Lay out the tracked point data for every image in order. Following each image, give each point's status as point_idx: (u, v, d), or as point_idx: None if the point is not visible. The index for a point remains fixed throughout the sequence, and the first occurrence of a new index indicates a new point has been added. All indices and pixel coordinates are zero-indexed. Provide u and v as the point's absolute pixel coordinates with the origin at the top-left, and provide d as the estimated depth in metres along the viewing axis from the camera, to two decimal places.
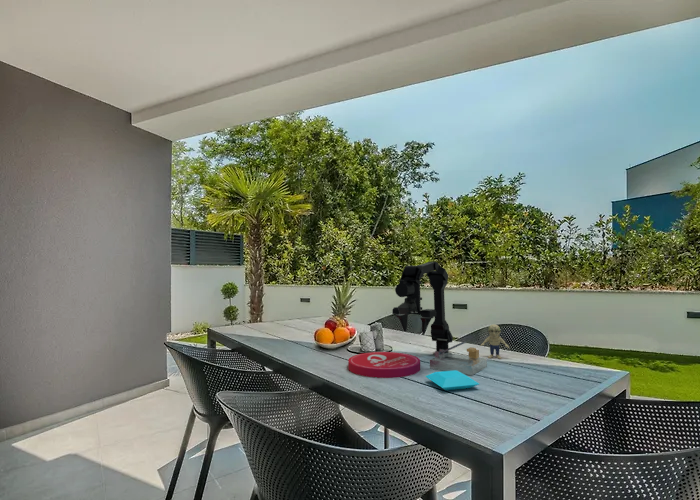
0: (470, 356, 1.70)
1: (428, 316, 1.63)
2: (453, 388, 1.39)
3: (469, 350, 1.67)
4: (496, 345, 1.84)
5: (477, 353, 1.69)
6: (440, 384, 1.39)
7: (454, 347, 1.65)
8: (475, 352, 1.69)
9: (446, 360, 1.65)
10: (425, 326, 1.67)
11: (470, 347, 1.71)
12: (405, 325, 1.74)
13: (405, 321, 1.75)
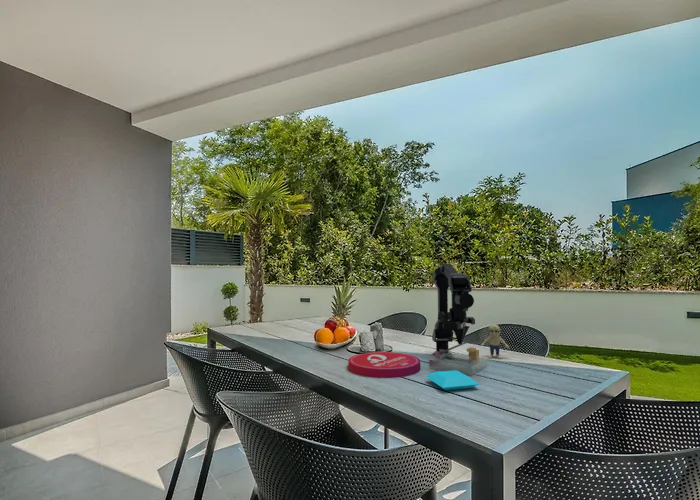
0: (470, 356, 1.70)
1: (443, 327, 1.60)
2: (453, 388, 1.39)
3: (469, 350, 1.67)
4: (496, 345, 1.84)
5: (477, 353, 1.69)
6: (440, 384, 1.39)
7: (454, 347, 1.65)
8: (475, 352, 1.69)
9: (446, 360, 1.65)
10: (458, 336, 1.65)
11: (470, 347, 1.71)
12: None
13: None
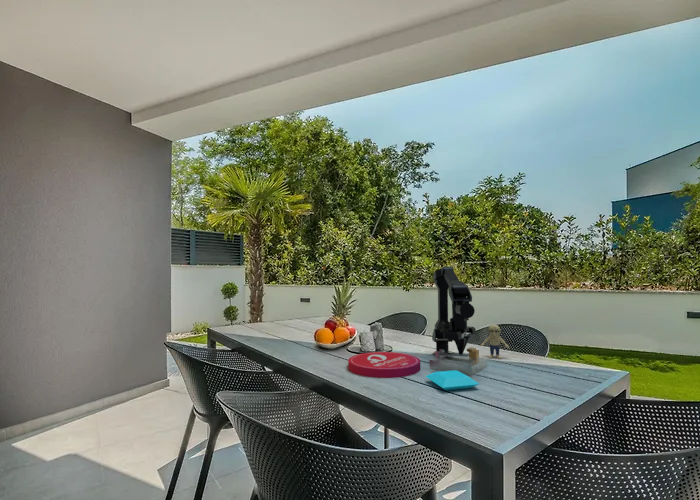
0: (470, 356, 1.70)
1: (444, 337, 1.60)
2: (453, 388, 1.39)
3: (469, 350, 1.67)
4: (496, 345, 1.84)
5: (477, 353, 1.69)
6: (440, 384, 1.39)
7: (456, 355, 1.65)
8: (475, 352, 1.69)
9: (446, 360, 1.65)
10: (459, 346, 1.64)
11: (470, 347, 1.71)
12: None
13: None
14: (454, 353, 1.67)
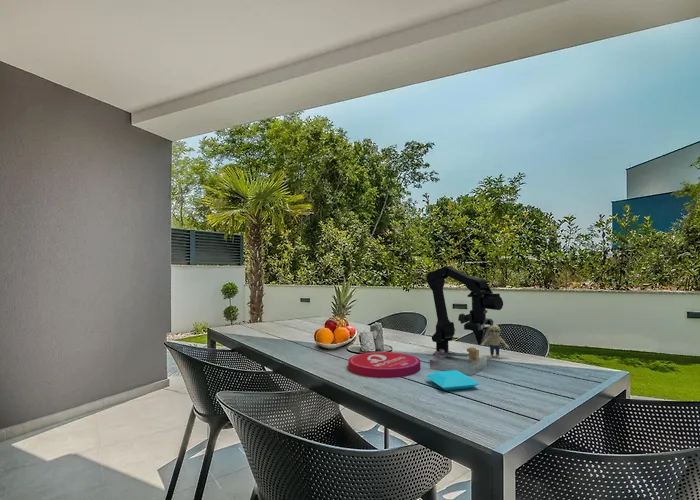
0: (470, 356, 1.70)
1: (464, 328, 1.71)
2: (453, 388, 1.39)
3: (469, 350, 1.67)
4: (496, 345, 1.84)
5: (477, 353, 1.69)
6: (440, 384, 1.39)
7: (456, 355, 1.65)
8: (475, 352, 1.69)
9: (446, 360, 1.65)
10: (477, 337, 1.75)
11: (470, 347, 1.71)
12: None
13: None
14: (454, 353, 1.67)
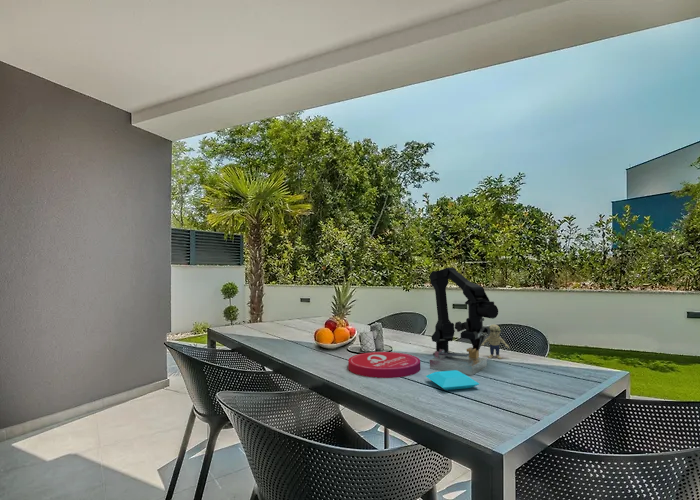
0: (470, 356, 1.70)
1: None
2: (453, 388, 1.39)
3: (469, 350, 1.67)
4: (496, 345, 1.84)
5: (477, 353, 1.69)
6: (440, 384, 1.39)
7: (456, 355, 1.65)
8: (475, 352, 1.68)
9: (446, 360, 1.65)
10: (474, 345, 1.71)
11: (470, 347, 1.70)
12: None
13: None
14: (454, 353, 1.67)
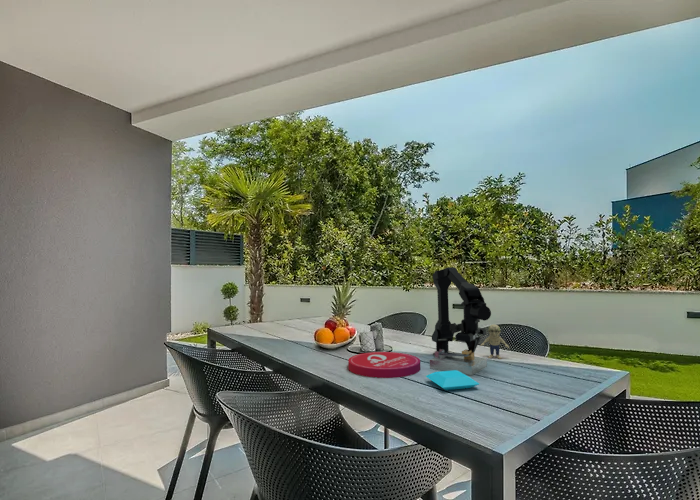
0: (465, 358, 1.66)
1: (455, 338, 1.63)
2: (453, 388, 1.39)
3: (464, 352, 1.63)
4: (496, 345, 1.84)
5: (472, 355, 1.65)
6: (440, 384, 1.39)
7: (456, 355, 1.65)
8: (470, 354, 1.65)
9: (446, 360, 1.65)
10: (470, 347, 1.68)
11: None
12: None
13: None
14: (454, 353, 1.67)
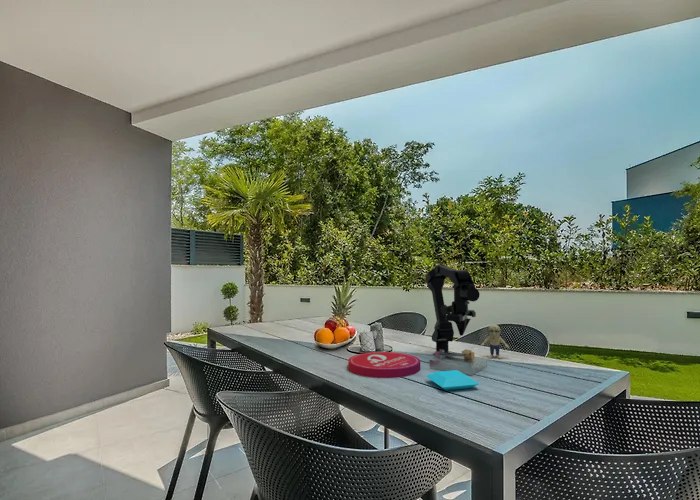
0: (465, 358, 1.66)
1: (446, 319, 1.70)
2: (453, 388, 1.39)
3: (464, 352, 1.63)
4: (496, 345, 1.84)
5: (472, 355, 1.65)
6: (440, 384, 1.39)
7: (456, 355, 1.65)
8: (470, 354, 1.65)
9: (446, 360, 1.65)
10: (459, 328, 1.75)
11: None
12: None
13: None
14: (454, 353, 1.67)
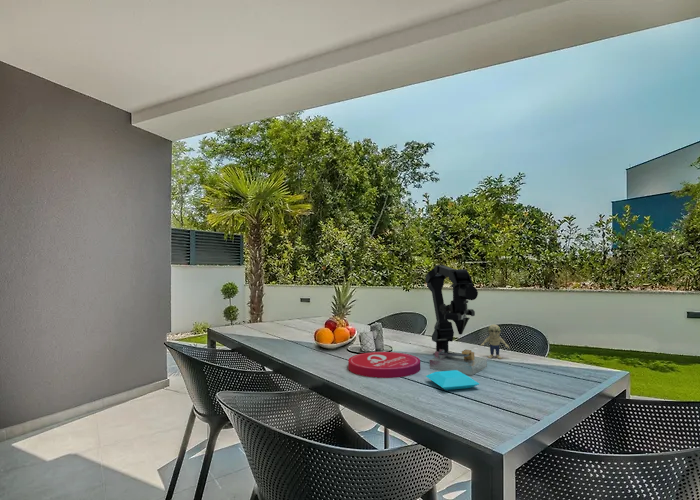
0: (465, 358, 1.66)
1: (444, 318, 1.71)
2: (453, 388, 1.39)
3: (464, 352, 1.63)
4: (496, 345, 1.84)
5: (472, 355, 1.65)
6: (440, 384, 1.39)
7: (456, 355, 1.65)
8: (470, 354, 1.65)
9: (446, 360, 1.65)
10: (458, 327, 1.75)
11: None
12: None
13: None
14: (454, 353, 1.67)
